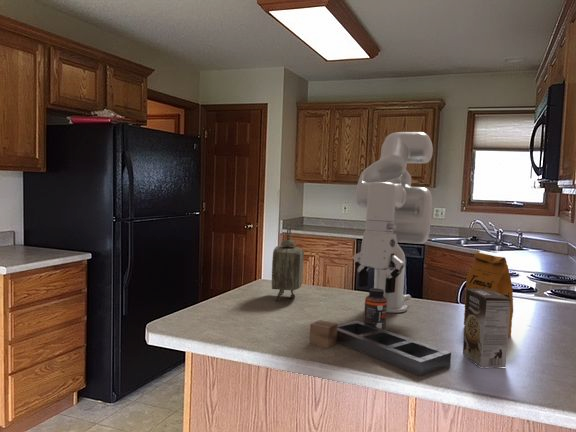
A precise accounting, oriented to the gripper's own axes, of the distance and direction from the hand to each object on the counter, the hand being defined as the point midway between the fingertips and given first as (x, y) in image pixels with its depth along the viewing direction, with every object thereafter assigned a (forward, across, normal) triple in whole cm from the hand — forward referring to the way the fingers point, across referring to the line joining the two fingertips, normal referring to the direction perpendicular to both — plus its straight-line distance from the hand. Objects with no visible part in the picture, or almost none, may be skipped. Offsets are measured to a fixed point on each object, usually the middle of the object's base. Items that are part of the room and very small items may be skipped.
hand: (376, 289), depth 130 cm
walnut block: (+12, 0, +19) cm, 23 cm away
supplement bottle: (+12, +1, -1) cm, 12 cm away
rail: (+12, -12, +10) cm, 20 cm away
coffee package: (+11, -17, -28) cm, 35 cm away
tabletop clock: (+11, +42, -2) cm, 43 cm away
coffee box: (+12, -29, -5) cm, 32 cm away
